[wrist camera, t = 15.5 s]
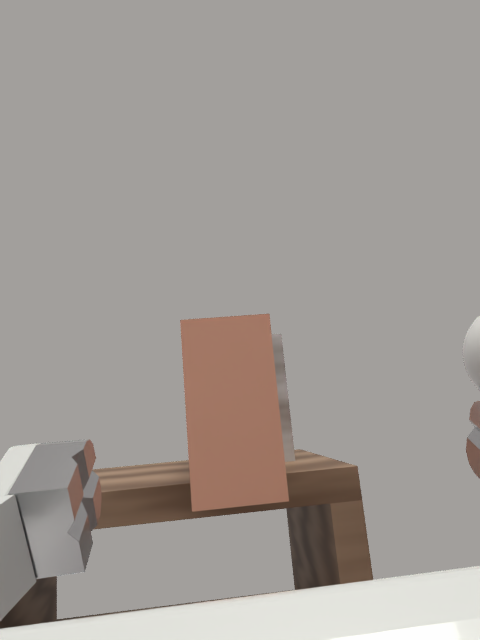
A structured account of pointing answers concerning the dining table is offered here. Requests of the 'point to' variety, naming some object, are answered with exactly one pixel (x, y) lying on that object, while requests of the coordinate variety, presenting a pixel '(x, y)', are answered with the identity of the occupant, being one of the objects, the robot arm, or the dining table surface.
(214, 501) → the salmon pink rectangular block
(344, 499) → the bookshelf
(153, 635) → the robot arm
